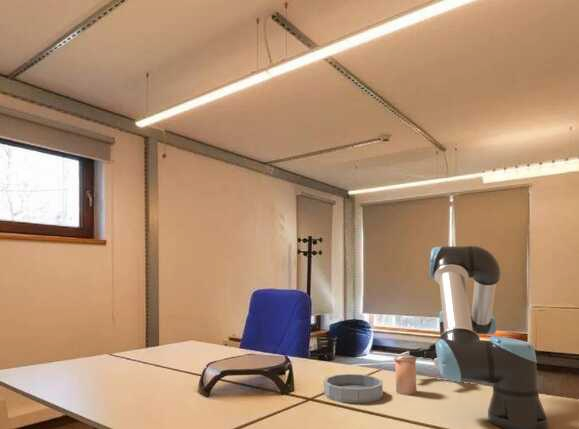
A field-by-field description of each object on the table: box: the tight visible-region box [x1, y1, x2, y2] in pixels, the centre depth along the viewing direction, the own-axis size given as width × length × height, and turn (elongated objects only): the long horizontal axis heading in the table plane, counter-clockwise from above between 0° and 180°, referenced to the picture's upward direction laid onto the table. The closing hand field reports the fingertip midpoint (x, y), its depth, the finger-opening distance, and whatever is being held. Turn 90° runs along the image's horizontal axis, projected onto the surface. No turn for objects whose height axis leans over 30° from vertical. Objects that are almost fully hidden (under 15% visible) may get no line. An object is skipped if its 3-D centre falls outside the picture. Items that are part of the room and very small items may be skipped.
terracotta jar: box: [393, 354, 418, 396], centre depth 152 cm, size 8×8×12 cm
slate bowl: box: [323, 373, 384, 404], centre depth 149 cm, size 20×20×4 cm
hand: (417, 360), depth 160 cm, fingers open, 13 cm apart
